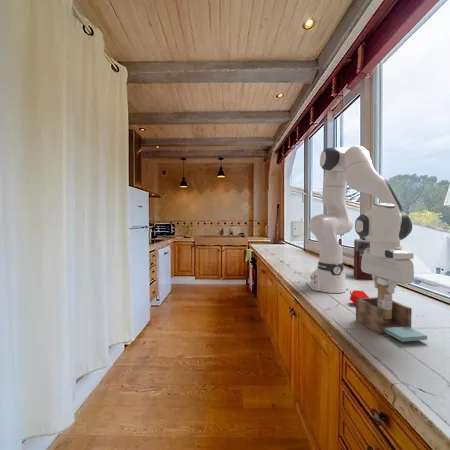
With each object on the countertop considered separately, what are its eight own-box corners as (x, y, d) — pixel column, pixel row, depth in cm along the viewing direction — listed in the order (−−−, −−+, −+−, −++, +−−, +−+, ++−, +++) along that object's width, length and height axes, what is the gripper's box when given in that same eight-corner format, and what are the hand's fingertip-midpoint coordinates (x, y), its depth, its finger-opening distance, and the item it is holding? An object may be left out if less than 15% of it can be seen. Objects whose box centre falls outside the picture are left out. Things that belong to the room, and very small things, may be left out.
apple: (372, 292, 112) (353, 283, 115) (371, 299, 107) (351, 290, 110) (365, 304, 115) (346, 296, 118) (364, 312, 109) (345, 303, 112)
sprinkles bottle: (374, 314, 92) (374, 276, 92) (387, 314, 92) (387, 276, 92) (381, 319, 88) (382, 279, 87) (395, 319, 88) (396, 279, 87)
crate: (355, 319, 96) (356, 298, 95) (384, 318, 97) (384, 296, 97) (379, 334, 84) (379, 310, 84) (411, 332, 85) (411, 308, 85)
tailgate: (384, 327, 84) (401, 337, 77) (407, 326, 85) (427, 335, 78) (384, 331, 84) (401, 341, 77) (407, 330, 85) (427, 339, 78)
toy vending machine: (356, 280, 154) (357, 232, 153) (353, 276, 165) (354, 231, 164) (373, 281, 151) (374, 233, 150) (369, 277, 162) (370, 232, 161)
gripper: (356, 247, 99) (356, 283, 99) (399, 254, 79) (399, 300, 79) (371, 246, 100) (371, 282, 100) (418, 254, 80) (417, 299, 80)
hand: (384, 290), depth 90 cm, fingers closed on sprinkles bottle, 4 cm apart
